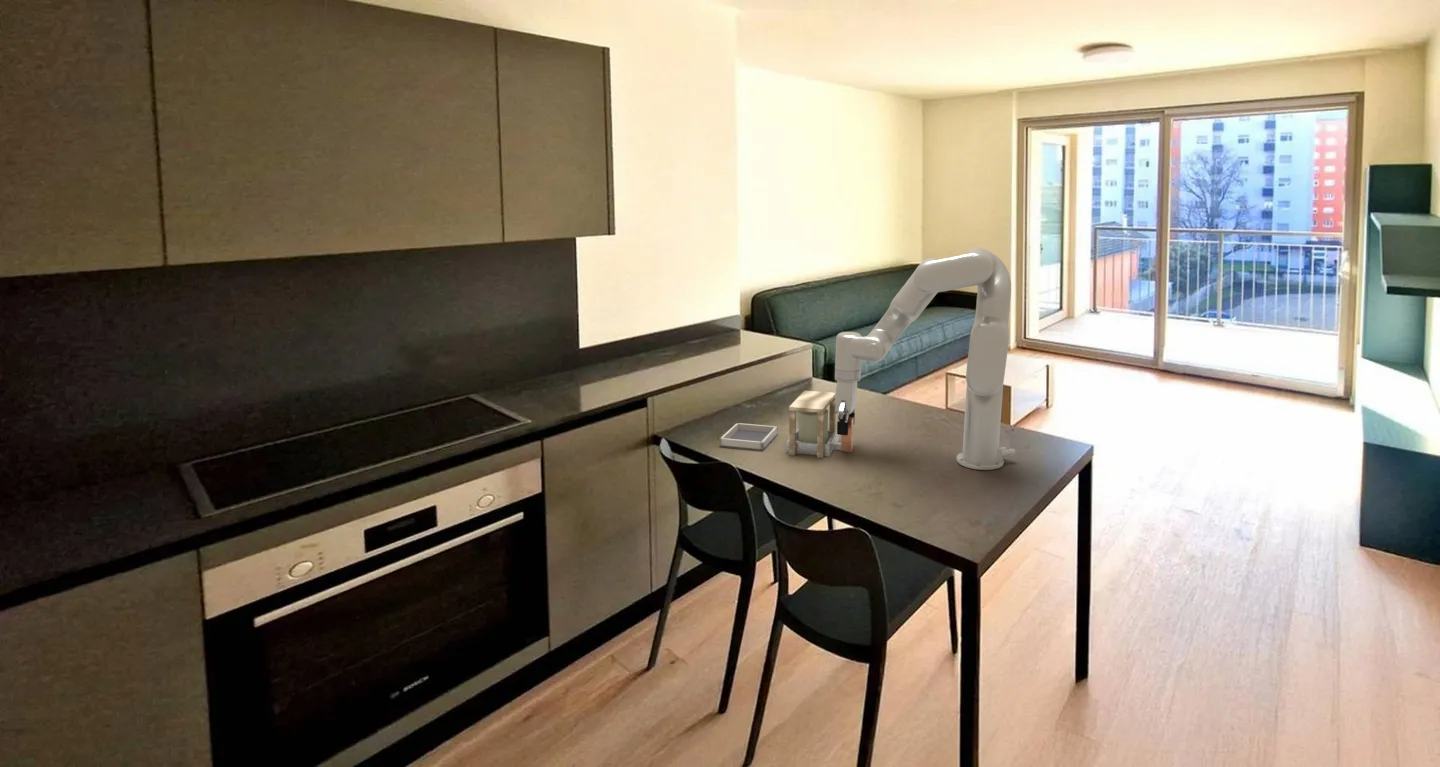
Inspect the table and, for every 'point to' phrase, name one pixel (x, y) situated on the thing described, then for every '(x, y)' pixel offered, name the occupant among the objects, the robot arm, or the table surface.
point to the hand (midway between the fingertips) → (845, 429)
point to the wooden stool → (817, 403)
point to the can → (811, 426)
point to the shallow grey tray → (831, 444)
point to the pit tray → (749, 436)
